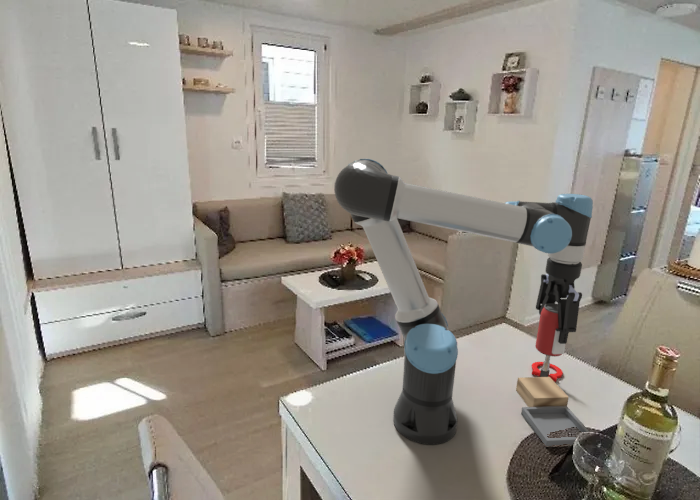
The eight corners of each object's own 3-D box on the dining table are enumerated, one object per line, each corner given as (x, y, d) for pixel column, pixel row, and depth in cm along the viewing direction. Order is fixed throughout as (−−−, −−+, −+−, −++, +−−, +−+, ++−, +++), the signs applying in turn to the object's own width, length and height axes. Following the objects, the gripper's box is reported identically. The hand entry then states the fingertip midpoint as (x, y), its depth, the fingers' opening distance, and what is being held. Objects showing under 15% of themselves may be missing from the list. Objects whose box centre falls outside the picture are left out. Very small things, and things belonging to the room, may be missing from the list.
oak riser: (532, 411, 105) (534, 398, 104) (515, 390, 114) (517, 377, 113) (566, 410, 106) (568, 397, 105) (547, 389, 115) (549, 376, 113)
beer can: (530, 344, 109) (537, 301, 106) (556, 345, 109) (563, 302, 106) (541, 357, 103) (548, 312, 99) (568, 358, 103) (576, 313, 99)
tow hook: (534, 362, 129) (527, 374, 122) (541, 323, 126) (535, 333, 119) (564, 371, 125) (559, 384, 117) (572, 331, 122) (567, 342, 114)
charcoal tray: (545, 448, 93) (546, 440, 93) (521, 414, 104) (522, 407, 104) (594, 446, 94) (596, 438, 94) (565, 412, 105) (566, 405, 105)
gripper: (607, 273, 90) (587, 366, 96) (557, 248, 109) (543, 328, 115) (574, 273, 89) (557, 367, 96) (529, 248, 108) (517, 328, 114)
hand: (549, 345), depth 105 cm, fingers closed on beer can, 6 cm apart
